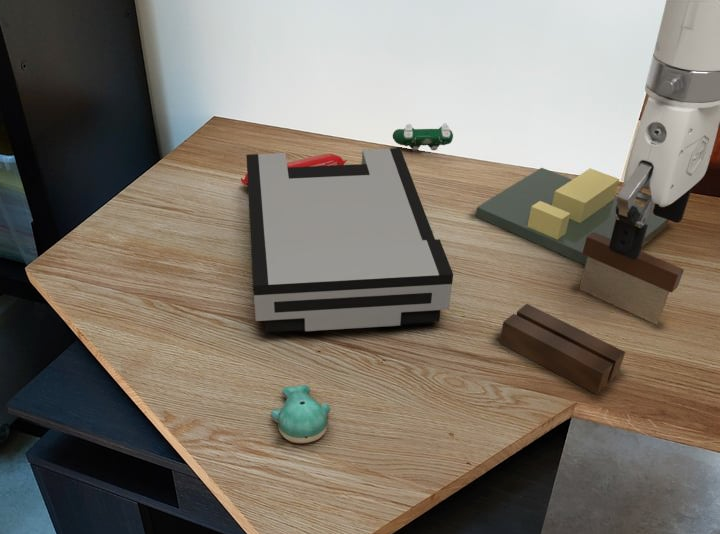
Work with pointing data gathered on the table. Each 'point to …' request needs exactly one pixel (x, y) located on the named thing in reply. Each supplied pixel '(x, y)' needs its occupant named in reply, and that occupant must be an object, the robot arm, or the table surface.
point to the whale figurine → (301, 416)
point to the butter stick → (585, 194)
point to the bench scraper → (628, 279)
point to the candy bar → (311, 163)
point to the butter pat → (548, 220)
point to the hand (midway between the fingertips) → (645, 235)
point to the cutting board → (540, 186)
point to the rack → (562, 348)
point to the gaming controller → (423, 137)
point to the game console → (342, 246)
